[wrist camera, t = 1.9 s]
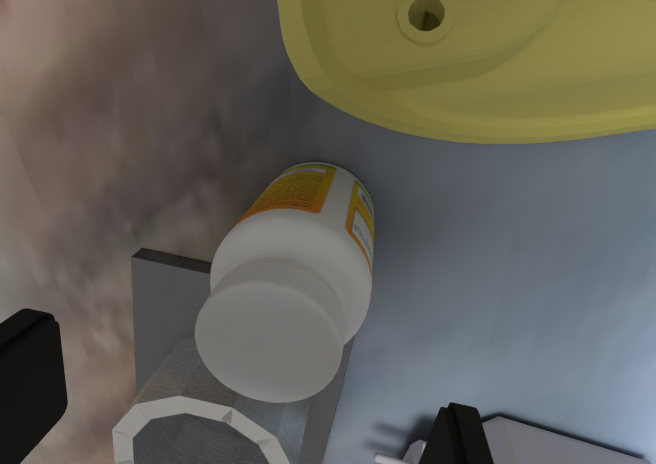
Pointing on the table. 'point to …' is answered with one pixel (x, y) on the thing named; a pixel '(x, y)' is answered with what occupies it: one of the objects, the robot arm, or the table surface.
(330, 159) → the table surface
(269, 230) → the supplement bottle
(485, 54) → the plastic component
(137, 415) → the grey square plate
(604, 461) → the charger
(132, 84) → the table surface
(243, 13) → the table surface
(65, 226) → the table surface
